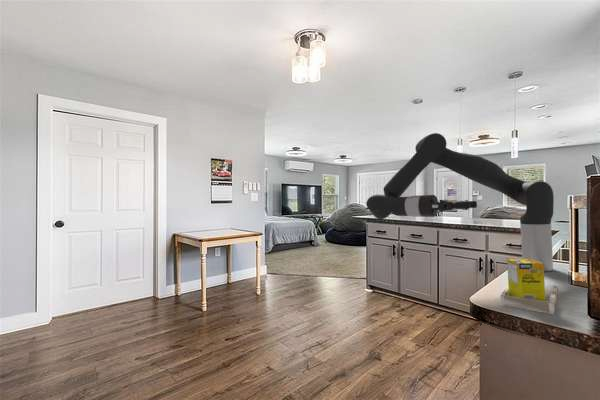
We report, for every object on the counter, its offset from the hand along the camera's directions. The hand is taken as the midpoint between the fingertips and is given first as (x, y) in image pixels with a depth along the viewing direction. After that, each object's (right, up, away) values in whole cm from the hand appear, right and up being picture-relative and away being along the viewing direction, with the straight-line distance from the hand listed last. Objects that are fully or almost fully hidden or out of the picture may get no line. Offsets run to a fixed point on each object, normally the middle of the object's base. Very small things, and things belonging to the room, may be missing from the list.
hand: (473, 204), depth 94 cm
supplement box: (+5, -26, -16) cm, 30 cm away
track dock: (+9, -26, -12) cm, 29 cm away
